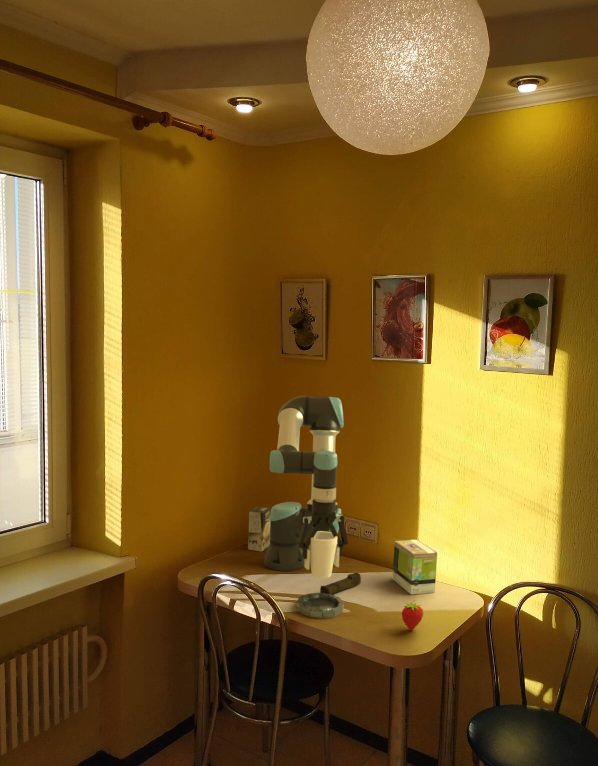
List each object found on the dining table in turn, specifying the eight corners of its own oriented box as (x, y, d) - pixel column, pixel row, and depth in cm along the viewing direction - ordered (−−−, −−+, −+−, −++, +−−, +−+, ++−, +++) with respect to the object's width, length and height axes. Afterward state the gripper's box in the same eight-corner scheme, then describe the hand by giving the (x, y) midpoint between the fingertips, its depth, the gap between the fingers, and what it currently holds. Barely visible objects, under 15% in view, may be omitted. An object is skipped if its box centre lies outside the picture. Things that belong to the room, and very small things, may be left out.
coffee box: (262, 552, 280) (263, 512, 278) (247, 549, 282) (248, 510, 280) (270, 544, 289) (271, 507, 287) (256, 542, 291) (257, 505, 289)
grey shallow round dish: (291, 601, 234) (291, 595, 233) (333, 596, 238) (333, 591, 238) (305, 620, 219) (305, 614, 219) (350, 615, 224) (350, 609, 224)
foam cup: (321, 567, 234) (322, 529, 233) (341, 575, 228) (343, 536, 226) (301, 573, 227) (302, 535, 226) (321, 582, 221) (323, 542, 220)
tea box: (436, 592, 245) (438, 551, 243) (410, 595, 242) (412, 554, 240) (416, 576, 259) (418, 538, 257) (391, 579, 256) (393, 540, 254)
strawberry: (426, 630, 215) (428, 599, 214) (411, 637, 210) (413, 605, 209) (411, 623, 219) (413, 593, 218) (396, 630, 214) (397, 599, 213)
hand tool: (327, 599, 237) (327, 586, 236) (319, 595, 240) (319, 582, 239) (365, 586, 249) (366, 573, 249) (357, 582, 252) (358, 570, 252)
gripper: (294, 504, 218) (292, 573, 220) (360, 500, 225) (357, 568, 227) (287, 498, 225) (285, 565, 227) (351, 494, 232) (348, 560, 234)
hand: (321, 566), depth 227 cm, fingers closed on foam cup, 9 cm apart
